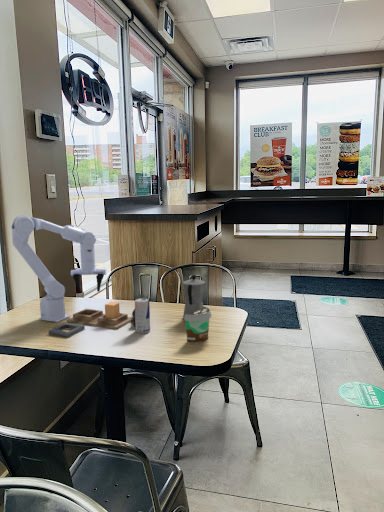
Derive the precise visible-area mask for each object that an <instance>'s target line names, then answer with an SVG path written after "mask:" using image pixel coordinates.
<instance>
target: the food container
mask: <svg viewBox="0 0 384 512" xmlns="http://www.w3.org/2000/svg"><path fill="white" fill-rule="evenodd" d="M211 317H212V312H211V309H210V307H207V306H204V305H203V306H202V309H200V310H198V311H194V312H193V313H191V314H190V315H188V314H185V319H184V318H183V321H185V329H186V330H185V333H186V342H190V343H201V342H204V341H207V340H208V339H209V328H210V318H211Z"/></svg>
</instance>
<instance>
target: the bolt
mask: <svg viewBox="0 0 384 512" xmlns="http://www.w3.org/2000/svg"><path fill="white" fill-rule="evenodd" d="M131 315H132V316H133V317H132V318H133V319H132V321H131V322H132V324H133V325H134V326H135V328H136V324H135V308H134V309H133V311H132V313H131Z"/></svg>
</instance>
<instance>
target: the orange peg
mask: <svg viewBox="0 0 384 512" xmlns="http://www.w3.org/2000/svg"><path fill="white" fill-rule="evenodd" d="M120 313H121V311H120V302H115V301H110V302H108V303H105V304H104V314H105V318H111V319H116V318H118V317H120Z"/></svg>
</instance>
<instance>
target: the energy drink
mask: <svg viewBox="0 0 384 512" xmlns="http://www.w3.org/2000/svg"><path fill="white" fill-rule="evenodd" d="M134 309H135V324H136V327H135V332H136V333H137V334H148V333H149V332H151V312H150V311H151V310H150V309H151V307H150V300H149V298H146V297H139V298H136V299H135V300H134Z"/></svg>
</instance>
